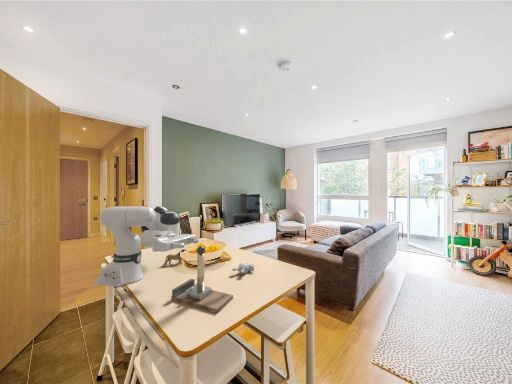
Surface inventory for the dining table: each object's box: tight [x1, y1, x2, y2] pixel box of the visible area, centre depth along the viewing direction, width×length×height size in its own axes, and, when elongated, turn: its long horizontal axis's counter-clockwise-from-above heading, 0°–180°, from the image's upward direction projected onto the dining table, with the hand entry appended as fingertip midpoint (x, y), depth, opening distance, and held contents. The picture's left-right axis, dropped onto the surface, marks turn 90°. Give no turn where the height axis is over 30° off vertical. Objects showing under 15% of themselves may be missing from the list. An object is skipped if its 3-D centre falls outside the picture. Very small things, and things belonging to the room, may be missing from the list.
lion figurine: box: [162, 248, 188, 267], centre depth 130 cm, size 15×5×9 cm, turn 124°
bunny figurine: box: [231, 262, 255, 275], centre depth 119 cm, size 10×5×15 cm
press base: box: [170, 278, 234, 314], centre depth 89 cm, size 24×12×4 cm, turn 67°
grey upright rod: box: [185, 245, 213, 300], centre depth 89 cm, size 7×10×21 cm
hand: (190, 243), depth 92 cm, fingers open, 8 cm apart
